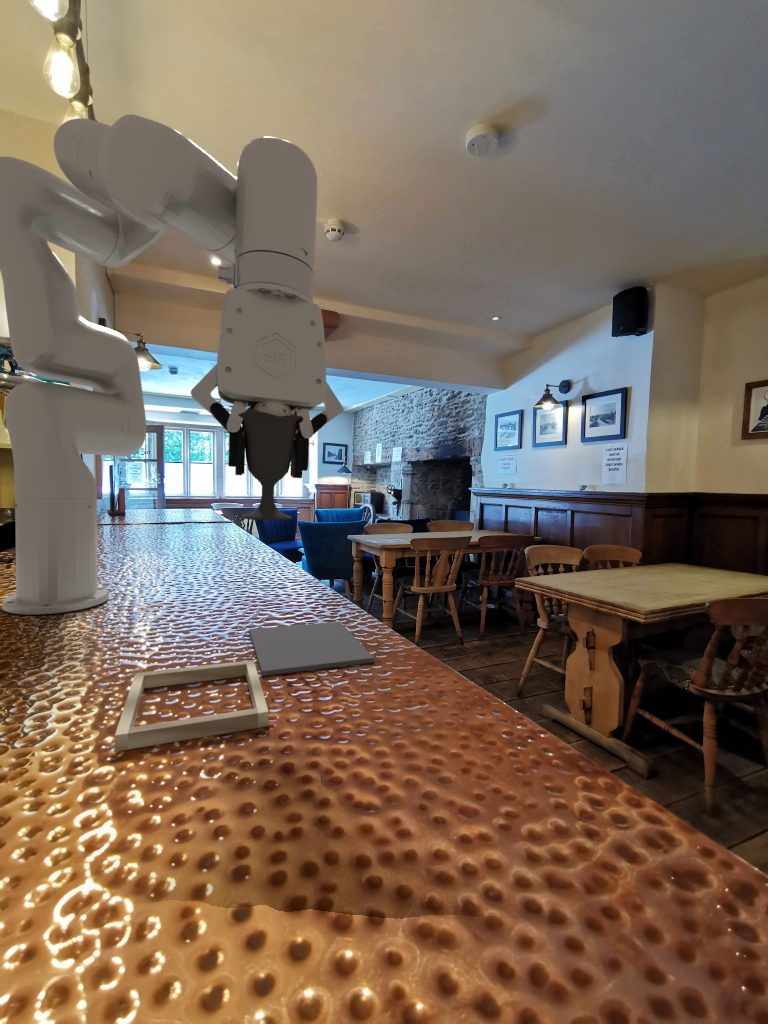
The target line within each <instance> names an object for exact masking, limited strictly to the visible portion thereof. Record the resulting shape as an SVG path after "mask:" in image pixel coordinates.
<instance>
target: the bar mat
mask: <svg viewBox="0 0 768 1024" xmlns="http://www.w3.org/2000/svg"><path fill="white" fill-rule="evenodd" d="M248 634H249V638H250V641H251V644H252V649H253V651H254V654H255V658H256V662H257V663H258V667H259V671H260V673H261V676H262V677H265V676H274V675H281V674H289V673H296V672H306V671H314V670H320V669H331V668H337V667H345V666H353V665H361V664H369V663H375V657H374V656H373V655H372V654H371V653H370V652H369V651H368V649H367V648H366V647H364V645H363V644H362V643H361V642H360V641H359V640H358V639H357V638H356V637H355V636H354V634H353V633H352V632H351V631H349V630H348V629H347V628H346V627H345V625H344V624H343V623H342V622H341V621H330V622H319V623H318V622H317V623H307V624H293V625H285V626H284V625H283V626H270V627H259V628H249V630H248Z"/></svg>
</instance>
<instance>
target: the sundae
mask: <svg viewBox="0 0 768 1024" xmlns="http://www.w3.org/2000/svg"><path fill="white" fill-rule="evenodd" d="M238 416H240V417H242V418H243V420H242V423H241V426H242V427H243V435H245V458H246V459H245V461H246V466H247V470H248V471H249V472H250V474H251V475H252V476H253V477H254V478H255V479H256V480H257V481H258V482H259V483H260V485H261V497H260V498H261V499H260V502H259V505H258V506H257V508H256V509H255V510H254V511H252V512H249V513H246V514H242V515H241V518H242V519H245V520H250V521H251V520H252V521H288V520H291V519H292V518H293V517H292V516H291V515H288V514H286V513H283V512H281V510H279V508H277V506H276V503H275V496H274V494H275V486H276V484H277V483H278V482H279V481H280V480H282V479H284V477H285V476H286V475H287V474H288V473H289V470H290V468H291V458H292V451H293V445H294V439H295V435H296V430H297V428H298V427H299V425H298V424H299V423H301V422H302V421H303V417H302V416H296V415H293V414H292V411H291V409H290V406H289V405H286V404H281V403H277V402H257V401H255V402H254V404H253V405H252V406H251V407H250V406H248V408H246V411H245V412H243V413H241V414H238Z"/></svg>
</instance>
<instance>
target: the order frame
mask: <svg viewBox="0 0 768 1024" xmlns="http://www.w3.org/2000/svg"><path fill="white" fill-rule="evenodd" d="M239 677H246V682H247V686H248V690H249V691H248V692H249V695H250V700H251V704H252V708H251V709H243V710H236V711H230V712H223V713H216V714H211V715H210V714H208V715H205V716H198V717H190V718H183V719H178V720H177V719H176V720H171V721H163V722H158V723H150V724H143V725H138V726H135V723H136V719H137V716H138V711H139V708H140V706H141V705H140V704H141V702H142V701H141V700H142V697H143V695H144V689H150V688H157V687H164V686H174V685H181V684H189V683H197V682H209V681H215V680H223V679H224V680H225V679H232V678H239ZM264 727H269V709H268V705H267V702H266V699H265V695H264V690H263V688H262V684H261V681H260V677H259V672H258V671H257V667H256V663H255V660H254V659H253V660H243V661H235V662H234V661H233V662H223V663H215V664H208V665H207V664H206V665H205V664H204V665H197V666H189V667H188V666H187V667H179V668H178V667H177V668H170V669H169V668H167V669H162V670H161V669H160V670H152V671H151V670H150V671H144V672H143V671H142V672H135V673H134V676H133V678H132V681H131V686H130V688H129V690H128V694H127V698H126V700H125V703H124V706H123V710H122V712H121V716H120V718H119V722H118V725H117V728H116V731H115V734H114V752H115V753H116V752H121V751H126V750H127V751H129V750H133V749H138V748H145V747H151V746H158V745H163V744H168V743H169V744H170V743H175V742H181V741H186V740H187V741H188V740H192V739H198V738H205V737H211V736H216V735H222V734H229V733H234V732H241V731H247V730H253V729H260V728H264Z"/></svg>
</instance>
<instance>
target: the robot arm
mask: <svg viewBox="0 0 768 1024" xmlns="http://www.w3.org/2000/svg"><path fill="white" fill-rule="evenodd" d="M53 151H54V155H55V159H56V162H57V164H58V166H59V168H60V170H61V171H62V173H63V175H64V176H65V177H66V178H67V180H69V181H67V180H66V179H64V178H61V177H60V176H58V175H57V174H55V173H53V172H50V171H49V170H48V169H45V168H44V167H41V166H39V165H36V164H34V163H32V162H29V161H26V160H23V159H20V158H17V157H13V156H4V155H3V156H0V275H1V280H2V284H3V291H4V292H3V293H4V301H5V302H4V303H5V310H6V311H5V312H6V319H7V327H8V334H9V335H8V336H9V341H10V347H11V350H12V351H11V352H12V355H13V358H14V359H15V362H16V363H17V365H18V366H19V367H20V368H21V369H22V370H24V371H26V372H29V373H31V374H33V375H36V376H40V377H43V378H46V379H52V380H56V381H59V382H61V381H62V382H66V383H71V384H76V385H82V386H84V387H85V386H86V387H91V388H93V389H94V390H89V389H85V388H82V387H76V386H71V385H67V384H66V385H65V384H61V383H60V384H59V383H55V382H48V381H47V382H46V381H29V382H23V383H20V384H18V385H16V386H14V387H13V388H12V389H11V390H10V391H9V392H8V394H7V395H6V398H5V400H4V401H5V402H4V417H5V424H6V427H7V432H8V435H9V440H10V445H11V452H12V459H13V470H14V473H13V474H14V475H13V476H14V499H15V501H14V502H15V503H14V506H15V507H14V509H15V511H14V513H15V517H14V519H15V520H14V521H15V577H16V578H15V583H16V584H15V585H16V587H15V588H16V589H15V590H16V593H13V594H11V595H8V596H6V597H4V599H2V601H1V610H2V611H4V612H6V613H9V614H15V615H25V616H26V615H27V616H28V615H51V614H53V615H54V614H60V613H69V612H75V611H81V610H86V609H88V608H94V607H96V606H98V605H101V604H103V603H105V602H106V601H108V600H109V598H110V592H109V590H108V589H107V588H106V587H104V586H103V587H102V586H98V490H97V489H98V488H97V487H98V486H97V483H96V479H95V476H94V474H93V472H92V471H91V469H90V468H89V467H88V466H87V464H86V462H85V461H84V459H83V458H82V457H81V456H80V455H101V456H111V457H112V456H113V457H114V456H115V457H127V456H131V455H133V454H135V453H138V451H140V449H142V447H143V445H144V443H145V439H146V436H147V435H146V434H147V419H146V410H145V402H144V395H143V393H144V392H143V387H142V377H141V371H140V365H139V358H138V355H137V351H136V350H135V348H134V347H133V344H132V343H131V342H130V341H129V339H127V338H126V336H124V335H123V334H122V333H120V332H118V331H117V330H113V329H111V328H108V327H105V326H103V325H99V324H96V323H93V322H90V321H88V320H86V319H85V318H84V317H83V316H82V314H81V312H80V308H79V301H78V300H79V299H78V292H77V288H76V286H75V283H74V281H73V280H72V277H71V275H70V274H69V271H68V270H67V269H66V267H65V265H64V264H63V262H61V260H60V258H59V257H58V256H57V255H56V254H55V252H53V250H52V249H51V248H50V246H49V243H51V244H52V245H55V246H57V247H59V248H62V249H64V250H65V251H69V252H71V253H73V254H75V255H78V256H80V257H82V258H85V259H88V260H89V261H91V262H94V263H96V264H98V265H101V266H104V267H108V268H113V269H114V268H121V267H124V266H126V265H128V264H129V263H130V262H132V261H133V260H134V259H136V257H138V256H139V255H140V254H142V253H143V252H145V251H146V250H147V249H148V248H149V247H151V246H152V245H153V244H154V243H156V242H157V241H159V240H160V239H161V238H162V237H163V236H164V235H166V233H168V232H169V231H170V229H171V230H173V231H174V232H176V233H178V234H180V235H182V236H184V237H185V238H187V239H188V240H190V241H192V242H193V243H195V244H197V245H199V246H200V247H202V248H204V249H205V250H207V251H208V252H210V253H211V254H213V255H214V256H215V255H216V256H217V257H219V258H220V259H222V260H223V261H225V262H228V264H231V266H229V265H228V266H227V265H226V267H225V266H219V265H218V273H217V274H218V275H217V281H218V283H222V284H223V283H224V284H226V285H227V286H230V289H228V290H227V291H226V293H225V295H224V300H223V303H222V304H223V305H222V310H221V314H220V323H219V333H218V343H217V345H218V346H217V359H216V364H215V365H214V366H213V367H212V368H211V369H210V370H209V371H208V372H207V373H206V374H205V375H204V376H203V377H202V378H201V379H200V380H199V381H198V382H197V383H196V385H194V387H193V388H192V389H191V391H190V395H191V397H192V399H193V400H194V401H195V402H197V404H199V406H201V407H202V408H204V410H206V411H207V412H208V413H209V414H211V416H212V417H213V418H214V419H215V420H216V421H217V423H219V424H220V425H221V426H222V428H223V429H225V431H226V432H227V433H228V463H227V464H228V467H232V468H234V467H235V470H234V471H235V473H234V474H235V476H243V475H244V474H245V467H246V466H245V464H246V463H245V461H246V459H245V458H246V453H245V435H244V434H243V427H242V424H241V423H242V420H243V418H242V417H240V416H238V414H241V413H243V412H245V411H246V410H247V409H248V408H247V407H251V406H252V405H253V404H254V402H255V401H257V402H277V403H281V404H286V405H289V406H290V409H291V411H292V414H293V415H296V416H302V417H303V421H302V422H301V423H299V424H298V425H299V427H298V428H297V430H296V435H295V439H294V445H293V451H292V458H291V462H290V477H291V478H293V479H302V478H303V471H304V472H306V471H308V469H309V455H310V454H309V453H310V451H309V450H310V439H311V438H312V437H313V436H314V435H315V434H316V433H317V432H319V430H321V429H322V428H323V427H325V425H326V424H328V423H329V422H331V421H332V420H334V419H335V418H336V417H338V416H340V414H341V413H343V412H344V407H343V405H342V403H341V402H340V400H339V398H338V397H337V396H336V394H335V393H334V391H333V389H332V388H331V386H330V384H329V383H328V382H327V363H326V362H327V361H326V359H327V357H326V342H325V341H326V339H325V329H324V319H323V314H322V309H321V306H320V305H318V304H317V303H314V283H315V282H314V281H315V258H316V257H315V256H316V255H315V254H316V234H317V230H316V228H317V212H318V211H317V205H318V204H317V203H318V176H317V171H316V168H315V166H314V163H313V161H312V159H311V158H310V157H309V155H308V154H307V153H306V152H305V151H304V150H303V149H302V148H300V146H298V145H296V144H295V143H293V142H291V141H288V140H286V139H283V138H279V137H275V136H264V137H257V138H254V139H252V140H251V141H249V142H247V143H246V144H245V145H244V146H243V148H242V149H241V152H240V153H239V156H238V160H237V165H236V166H237V167H236V175H234V174H233V173H231V171H229V170H228V169H227V168H226V167H224V165H222V164H221V163H219V162H218V161H217V160H216V159H215V158H214V157H213V156H211V155H210V154H208V153H207V152H206V151H205V150H203V149H202V148H201V146H200V147H199V146H198V145H197V144H196V143H194V142H193V140H191V139H190V138H187V136H186V135H183V134H182V133H181V132H179V131H177V130H176V129H174V128H172V127H170V126H169V125H166V124H163V123H161V122H158V121H155V120H153V119H151V118H150V119H149V118H146V117H143V116H140V115H136V114H132V113H131V114H125V115H123V116H121V117H120V118H119V119H117V120H116V121H114V123H113V124H112V125H109V124H106V123H103V122H100V121H96V120H94V119H89V118H83V117H82V118H81V117H80V118H71V119H69V120H66V121H65V122H63V123H62V124H61V125H60V126H59V127H58V128H57V130H56V131H55V134H54V137H53ZM216 388H217V392H218V396H219V398H220V399H221V400H222V401H225V402H226V403H227V404H230V405H232V408H231V410H230V412H229V411H228V410H227V409H226V408H225V406H223V405H222V404H221V403H220V402H219V401H217V400H216V399H215V398H214V397H213V396H212V392H213V391H214V390H215V389H216ZM322 404H323V405H324V409H323V410H322V411H320V412H319V413H317V414H316V415H315V416H314V417H312V418H311V416H310V412H309V411H311V410H314V409H315V408H316V407H318V406H320V405H322Z"/></svg>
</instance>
